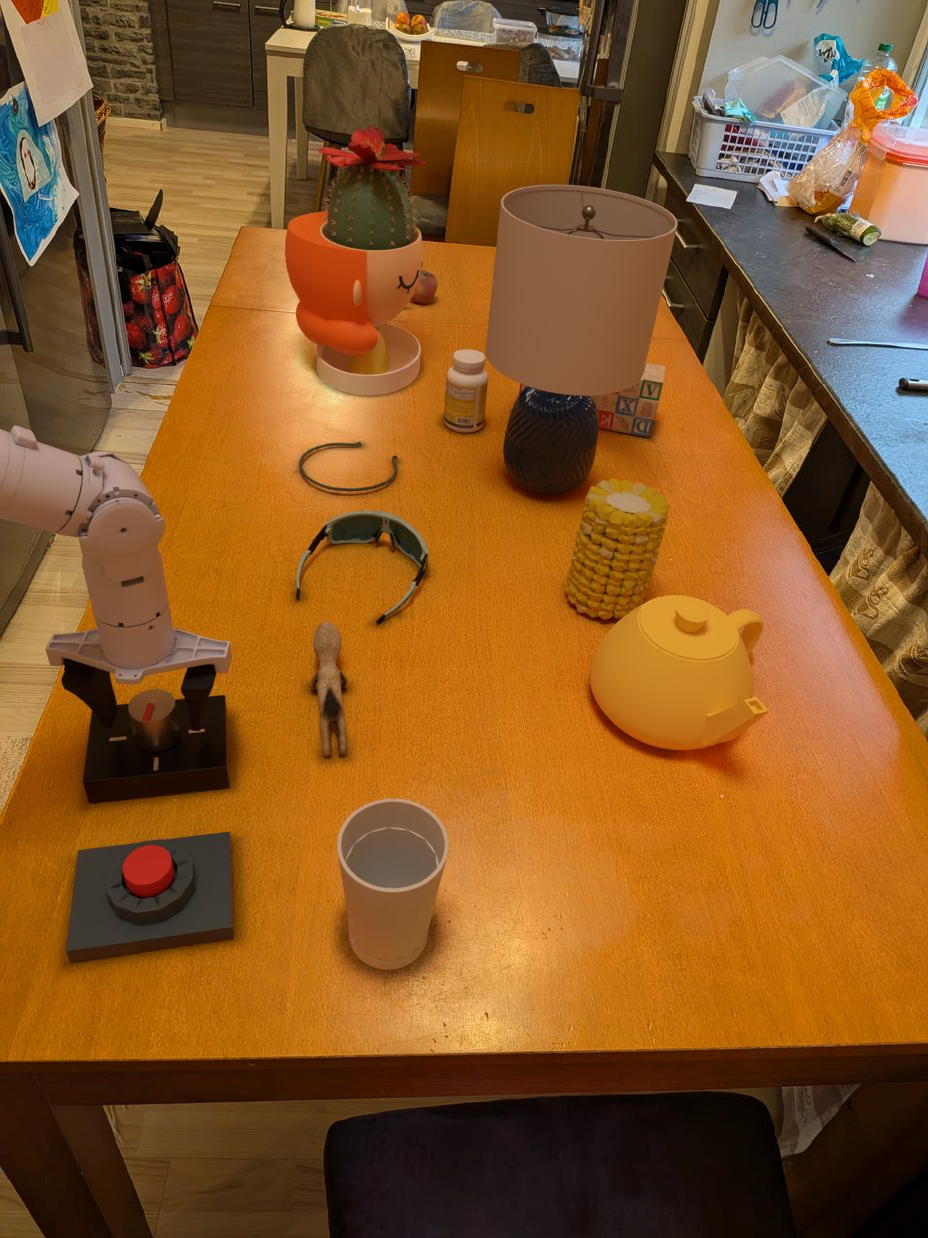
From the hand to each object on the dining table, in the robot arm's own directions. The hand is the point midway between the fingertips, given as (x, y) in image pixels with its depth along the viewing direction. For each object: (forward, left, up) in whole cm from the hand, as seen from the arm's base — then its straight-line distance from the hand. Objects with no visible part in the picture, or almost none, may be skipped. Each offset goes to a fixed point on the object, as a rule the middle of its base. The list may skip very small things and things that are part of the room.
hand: (154, 721), depth 80 cm
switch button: (0, -15, -2) cm, 15 cm away
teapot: (+52, -1, -5) cm, 52 cm away
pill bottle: (+42, +61, -5) cm, 74 cm away
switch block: (0, -15, -5) cm, 16 cm away
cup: (+18, -21, -5) cm, 28 cm away
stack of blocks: (+62, +62, -5) cm, 88 cm away
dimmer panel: (0, 0, -5) cm, 5 cm away
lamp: (+50, +44, -5) cm, 67 cm away
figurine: (+16, +5, -5) cm, 18 cm away
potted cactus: (+28, +82, -5) cm, 87 cm away
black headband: (+23, +49, -5) cm, 54 cm away
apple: (+44, +109, -5) cm, 118 cm away
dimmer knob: (0, 0, -2) cm, 2 cm away
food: (+50, +18, -5) cm, 53 cm away
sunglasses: (+22, +25, -5) cm, 34 cm away
